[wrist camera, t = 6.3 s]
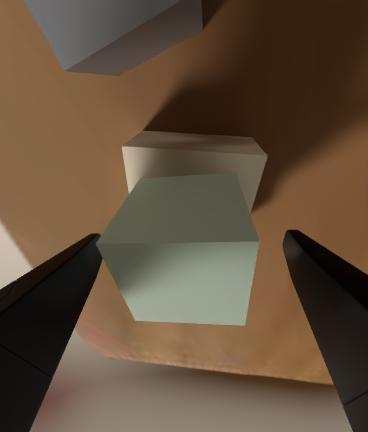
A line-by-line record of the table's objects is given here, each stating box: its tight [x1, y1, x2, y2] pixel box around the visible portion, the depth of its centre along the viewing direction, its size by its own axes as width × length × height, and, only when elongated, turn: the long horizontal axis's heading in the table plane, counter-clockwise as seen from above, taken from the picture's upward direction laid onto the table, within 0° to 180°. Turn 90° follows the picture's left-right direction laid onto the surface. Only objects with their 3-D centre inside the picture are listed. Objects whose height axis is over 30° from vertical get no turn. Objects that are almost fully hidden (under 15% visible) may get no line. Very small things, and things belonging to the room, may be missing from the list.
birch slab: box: [122, 131, 268, 213], centre depth 13 cm, size 7×7×4 cm
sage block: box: [96, 172, 259, 326], centre depth 9 cm, size 5×5×5 cm
